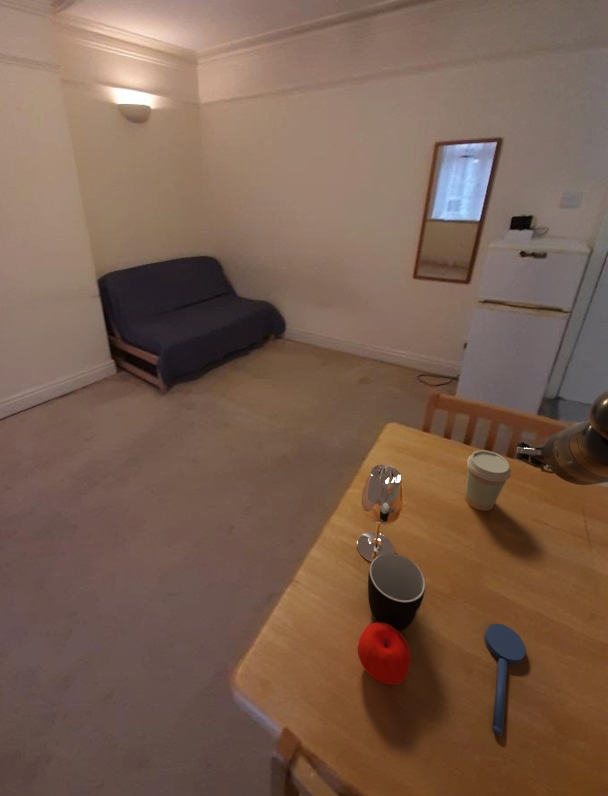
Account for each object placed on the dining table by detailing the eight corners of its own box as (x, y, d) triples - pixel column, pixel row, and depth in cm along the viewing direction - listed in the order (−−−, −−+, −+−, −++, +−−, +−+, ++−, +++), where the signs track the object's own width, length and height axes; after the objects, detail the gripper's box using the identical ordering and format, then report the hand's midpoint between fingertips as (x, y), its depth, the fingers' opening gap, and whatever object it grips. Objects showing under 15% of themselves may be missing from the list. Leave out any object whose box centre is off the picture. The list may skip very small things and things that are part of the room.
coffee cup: (501, 496, 95) (513, 456, 90) (498, 521, 89) (511, 480, 84) (461, 482, 100) (471, 444, 94) (455, 505, 93) (465, 465, 88)
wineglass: (398, 567, 80) (412, 491, 71) (357, 562, 81) (366, 487, 73) (391, 534, 87) (403, 461, 78) (354, 530, 88) (362, 458, 80)
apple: (414, 698, 61) (421, 671, 58) (360, 694, 61) (364, 667, 58) (400, 641, 68) (405, 614, 65) (352, 638, 69) (355, 611, 65)
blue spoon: (486, 622, 70) (487, 617, 70) (524, 640, 67) (526, 635, 67) (473, 723, 58) (475, 718, 57) (519, 750, 55) (522, 745, 54)
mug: (417, 647, 67) (426, 610, 63) (361, 630, 70) (367, 592, 65) (416, 582, 77) (424, 546, 73) (367, 569, 80) (372, 533, 76)
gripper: (655, 436, 51) (596, 454, 66) (531, 414, 56) (503, 435, 71) (655, 497, 49) (594, 500, 64) (526, 468, 54) (498, 477, 69)
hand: (546, 466), depth 68 cm, fingers closed
